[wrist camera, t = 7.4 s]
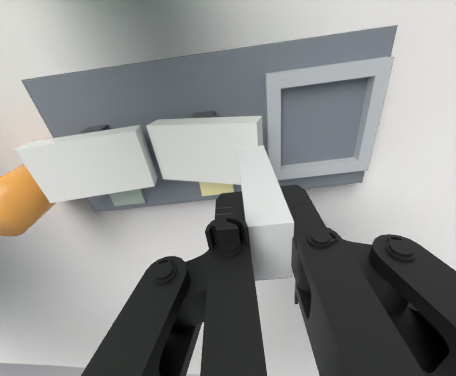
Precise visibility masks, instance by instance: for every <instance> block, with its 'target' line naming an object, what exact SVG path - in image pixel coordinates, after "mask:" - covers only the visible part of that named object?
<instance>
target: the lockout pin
mask: <svg viewBox="0 0 456 376" xmlns="http://www.w3.org/2000/svg"><path fill="white" fill-rule="evenodd" d="M56 203H57V202H55V203H50V202H49V200H48V199H47V197H46V196H45V195H44V193H43V192H42V190H41V189H40V187H39V186H38V184H37V183H36V181H35V180H34V178H33V177H32V175H31V174H30V172H29V171H28V169H27V168H26V166H25V165H24V164H23V165H21V166H19V167H17V168H16V169H14V170H12V171H10V172H9V173H7V174H5V175H3V176H2V177H0V235H2V236H18V235H21V234H23V233H24V232H25V231H26V230H27V229H28V228H29V227H31V226H32V225H33V224H34V223H35V222H36V221H37V220H38V219H39V218H40V217H41V216H43V215H44V214H45V213H46V212H47V211H48V210H49V209H50V208H51V207H52V206H53V205H54V204H56Z"/></svg>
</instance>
